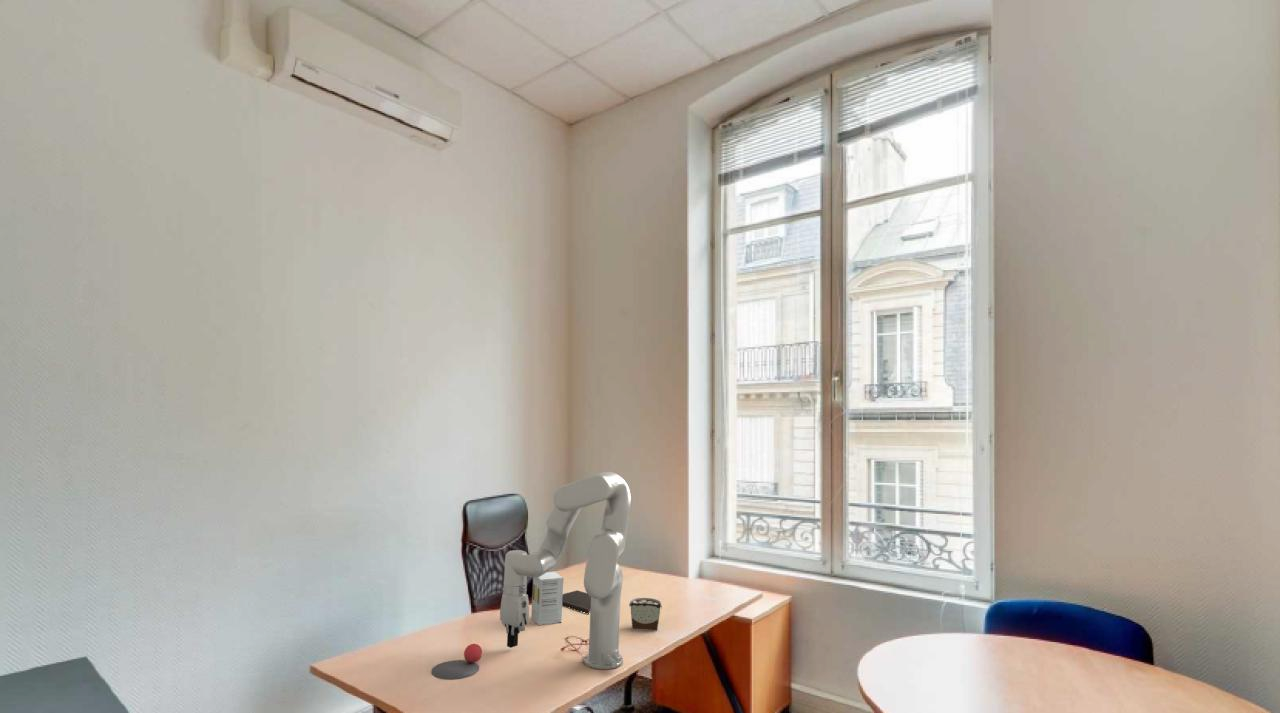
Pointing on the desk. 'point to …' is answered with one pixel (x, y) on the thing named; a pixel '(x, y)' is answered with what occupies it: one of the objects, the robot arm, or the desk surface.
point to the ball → (473, 653)
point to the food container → (645, 613)
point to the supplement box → (547, 598)
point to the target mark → (455, 669)
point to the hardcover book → (577, 601)
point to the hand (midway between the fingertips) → (512, 646)
